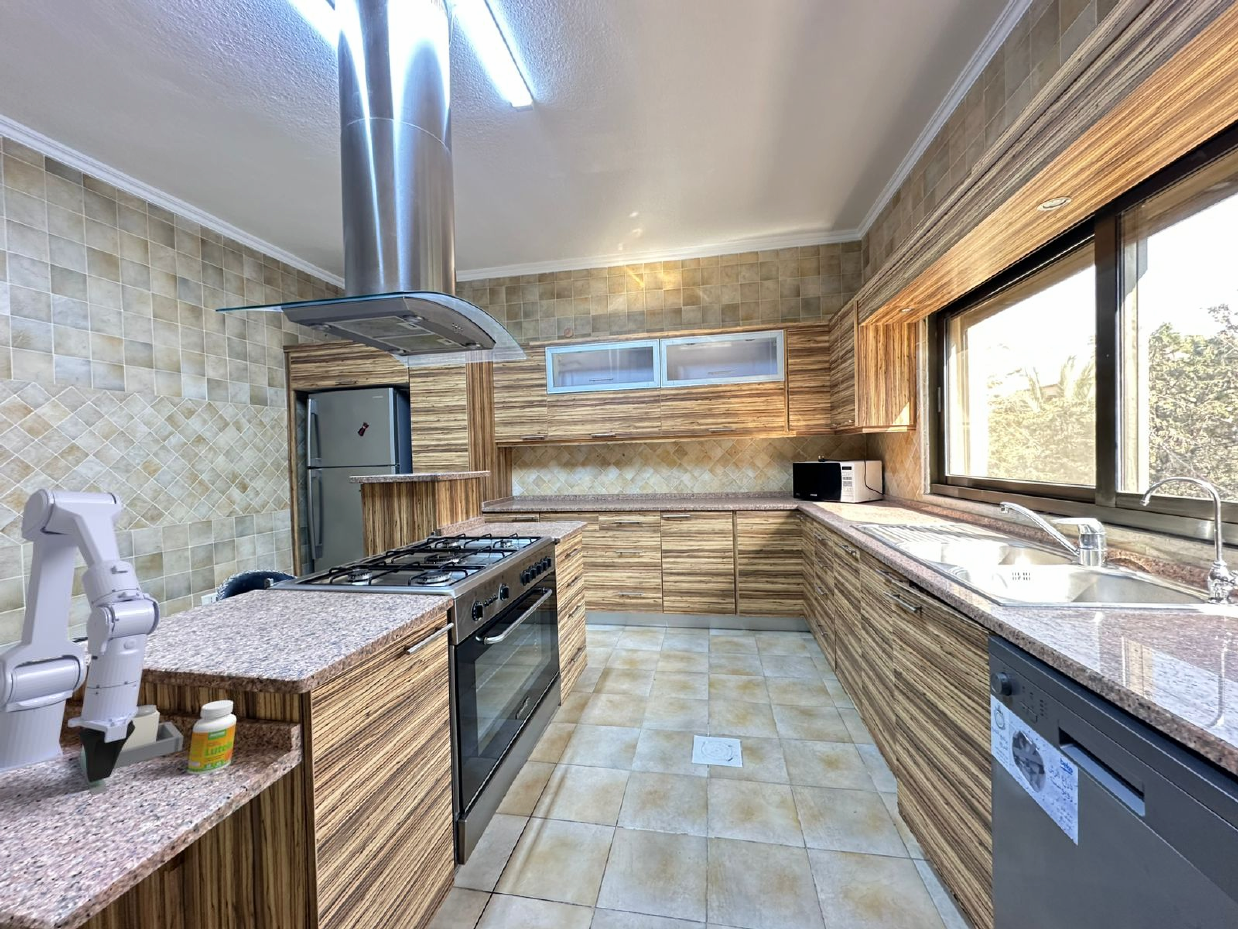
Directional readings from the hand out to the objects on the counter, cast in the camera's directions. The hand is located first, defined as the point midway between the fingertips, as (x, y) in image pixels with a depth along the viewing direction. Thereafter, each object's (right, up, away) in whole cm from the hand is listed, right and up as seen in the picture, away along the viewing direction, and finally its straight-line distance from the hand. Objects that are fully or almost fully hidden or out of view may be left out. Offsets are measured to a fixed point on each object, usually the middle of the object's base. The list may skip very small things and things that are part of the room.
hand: (98, 778), depth 70 cm
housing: (-2, -2, +7) cm, 8 cm away
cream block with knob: (-5, -2, +10) cm, 11 cm away
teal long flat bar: (-6, -1, +4) cm, 8 cm away
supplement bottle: (+11, -3, +6) cm, 13 cm away
